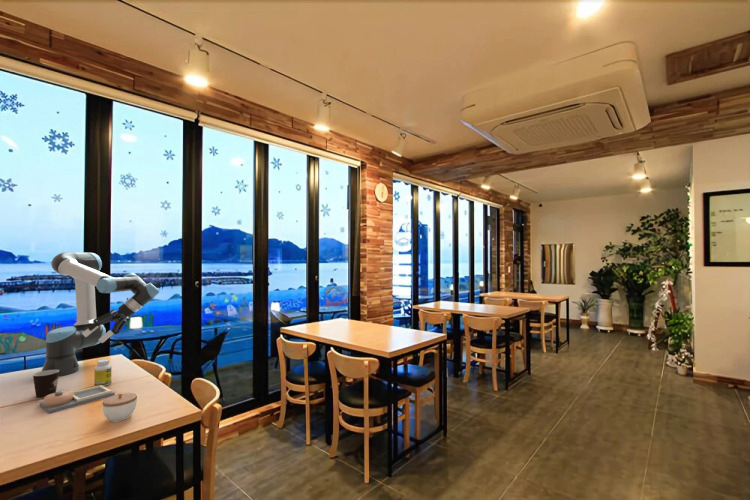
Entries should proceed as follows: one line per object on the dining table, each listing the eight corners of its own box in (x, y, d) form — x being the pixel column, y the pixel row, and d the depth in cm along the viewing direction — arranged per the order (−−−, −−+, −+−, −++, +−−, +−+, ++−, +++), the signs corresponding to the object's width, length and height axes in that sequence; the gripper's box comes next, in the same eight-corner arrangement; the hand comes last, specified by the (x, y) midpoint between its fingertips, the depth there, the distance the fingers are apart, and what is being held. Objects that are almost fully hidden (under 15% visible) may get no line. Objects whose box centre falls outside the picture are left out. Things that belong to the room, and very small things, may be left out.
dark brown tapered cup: (42, 399, 151) (43, 376, 151) (27, 398, 153) (27, 375, 153) (70, 389, 163) (71, 368, 163) (56, 388, 164) (56, 367, 165)
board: (39, 404, 146) (39, 392, 146) (102, 388, 164) (102, 377, 164) (49, 413, 138) (49, 400, 138) (114, 395, 156) (114, 383, 156)
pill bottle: (104, 387, 166) (104, 362, 166) (90, 387, 166) (91, 362, 166) (114, 382, 172) (115, 358, 173) (101, 382, 173) (102, 358, 173)
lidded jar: (131, 409, 142) (131, 386, 142) (140, 417, 135) (141, 393, 135) (98, 419, 133) (99, 394, 133) (106, 428, 126) (107, 401, 127)
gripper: (122, 304, 175) (81, 337, 166) (145, 318, 197) (111, 348, 188) (112, 295, 176) (71, 327, 168) (137, 310, 199) (102, 339, 190)
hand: (92, 338), depth 178 cm, fingers open, 13 cm apart
